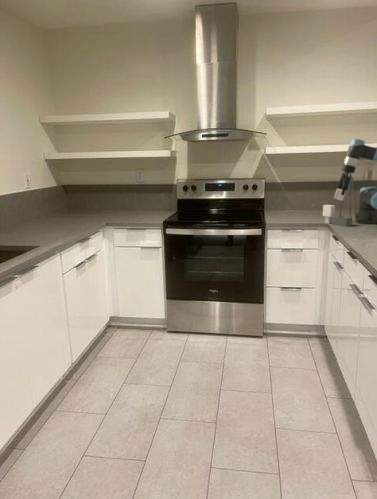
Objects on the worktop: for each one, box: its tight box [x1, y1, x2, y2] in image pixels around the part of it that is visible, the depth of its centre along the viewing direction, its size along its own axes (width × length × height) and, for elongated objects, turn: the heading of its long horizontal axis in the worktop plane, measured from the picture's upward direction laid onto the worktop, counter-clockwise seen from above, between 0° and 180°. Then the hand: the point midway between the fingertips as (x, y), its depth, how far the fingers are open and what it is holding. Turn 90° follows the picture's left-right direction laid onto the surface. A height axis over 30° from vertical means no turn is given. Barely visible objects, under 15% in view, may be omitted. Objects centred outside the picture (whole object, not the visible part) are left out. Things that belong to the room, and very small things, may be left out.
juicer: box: [338, 175, 358, 218], centre depth 257 cm, size 10×11×30 cm
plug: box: [322, 204, 336, 224], centre depth 252 cm, size 4×6×12 cm
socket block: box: [331, 215, 353, 227], centre depth 245 cm, size 6×10×5 cm, turn 35°
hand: (338, 199), depth 235 cm, fingers open, 13 cm apart
